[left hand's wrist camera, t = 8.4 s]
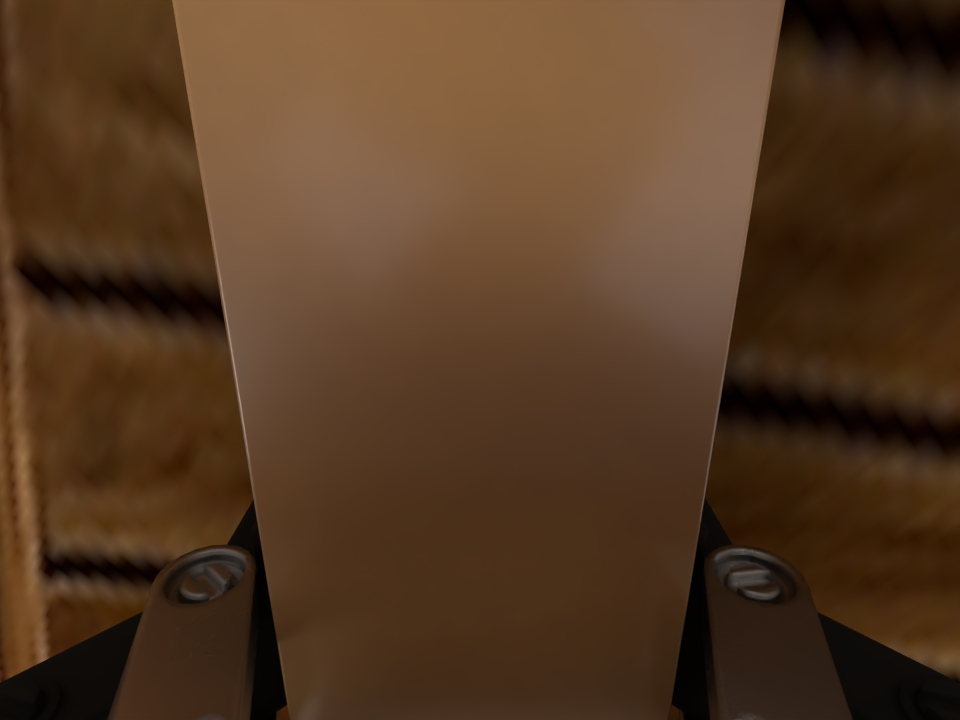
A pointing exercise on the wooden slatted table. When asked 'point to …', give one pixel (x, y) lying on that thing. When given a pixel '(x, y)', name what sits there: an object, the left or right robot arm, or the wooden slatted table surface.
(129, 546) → the wooden slatted table surface
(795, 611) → the left robot arm
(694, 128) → the bar
